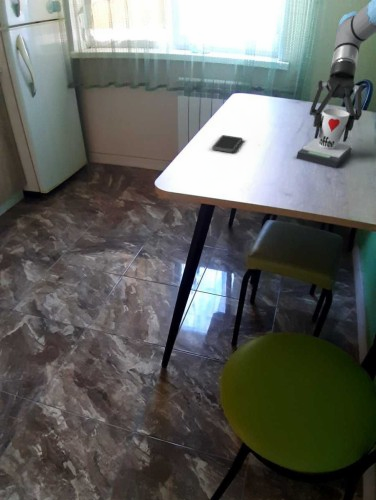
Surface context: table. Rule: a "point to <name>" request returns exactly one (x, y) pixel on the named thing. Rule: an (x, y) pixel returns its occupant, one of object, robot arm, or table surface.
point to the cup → (332, 127)
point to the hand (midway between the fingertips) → (330, 137)
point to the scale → (324, 153)
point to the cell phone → (227, 143)
